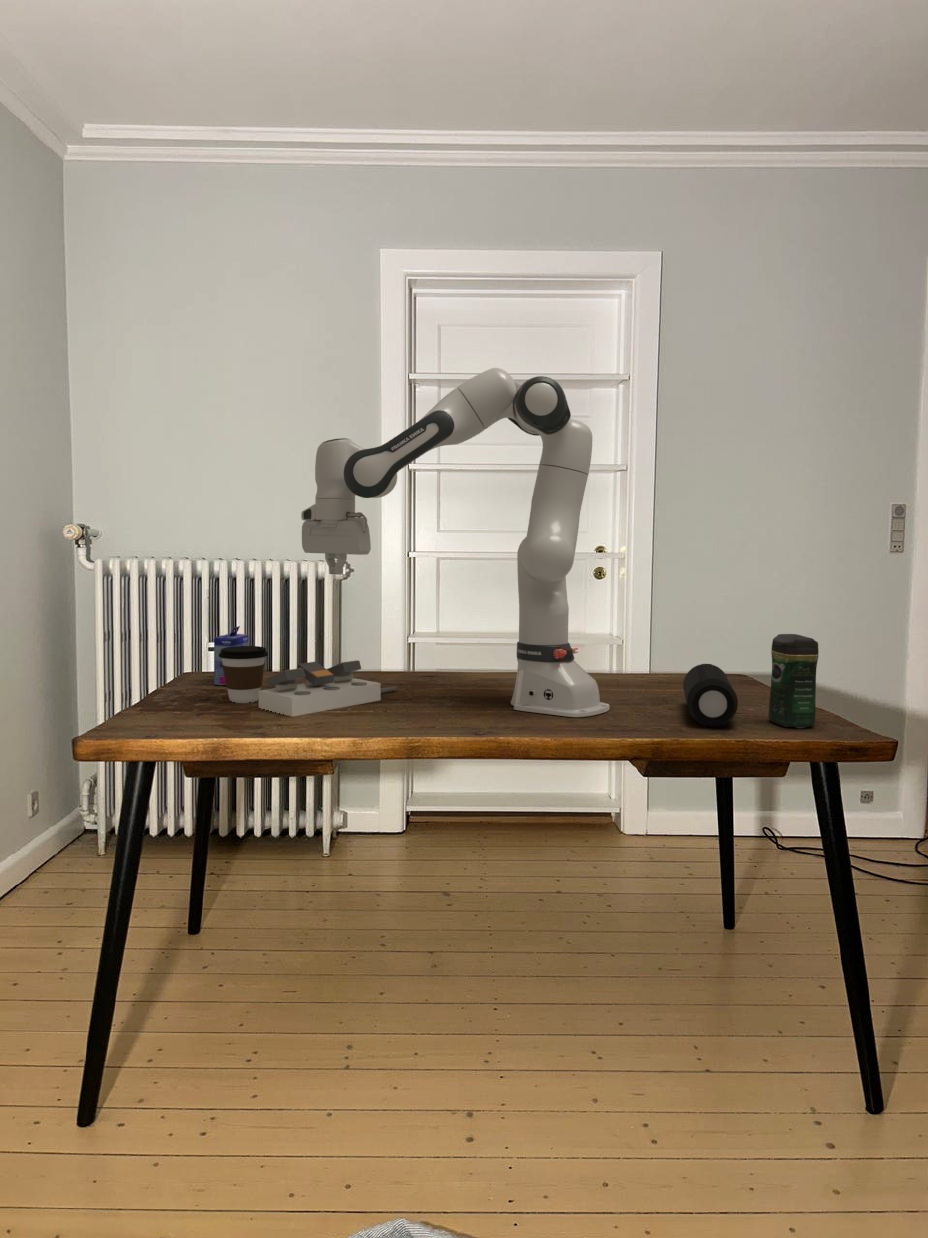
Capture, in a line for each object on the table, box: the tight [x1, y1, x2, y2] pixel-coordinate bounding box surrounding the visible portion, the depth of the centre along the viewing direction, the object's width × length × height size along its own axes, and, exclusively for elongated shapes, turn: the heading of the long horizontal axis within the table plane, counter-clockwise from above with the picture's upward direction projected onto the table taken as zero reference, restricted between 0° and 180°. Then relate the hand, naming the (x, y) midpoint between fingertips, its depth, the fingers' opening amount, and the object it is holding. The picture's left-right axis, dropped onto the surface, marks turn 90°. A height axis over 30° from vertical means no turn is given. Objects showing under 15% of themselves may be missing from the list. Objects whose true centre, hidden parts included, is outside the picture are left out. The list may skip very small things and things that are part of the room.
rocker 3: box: [326, 659, 362, 676], centre depth 204 cm, size 7×5×2 cm
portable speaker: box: [682, 663, 739, 728], centre depth 188 cm, size 26×10×10 cm, turn 168°
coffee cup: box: [219, 645, 269, 704], centre depth 201 cm, size 11×11×12 cm
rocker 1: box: [266, 668, 306, 688], centre depth 193 cm, size 7×5×2 cm
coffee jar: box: [767, 633, 819, 729], centre depth 180 cm, size 10×8×19 cm
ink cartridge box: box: [213, 625, 249, 686], centre depth 224 cm, size 10×6×14 cm, turn 171°
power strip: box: [258, 673, 398, 718], centre depth 201 cm, size 12×36×6 cm, turn 138°
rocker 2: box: [296, 661, 334, 686], centre depth 198 cm, size 7×5×2 cm
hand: (336, 574), depth 198 cm, fingers closed
